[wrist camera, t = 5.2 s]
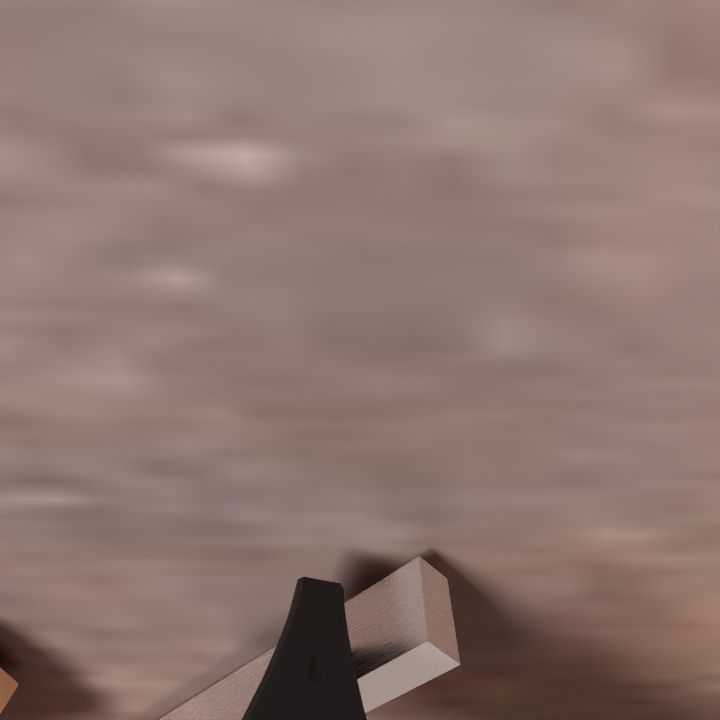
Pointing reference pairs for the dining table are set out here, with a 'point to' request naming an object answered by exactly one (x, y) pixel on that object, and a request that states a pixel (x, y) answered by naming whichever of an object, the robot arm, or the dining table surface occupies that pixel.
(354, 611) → the bar
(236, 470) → the dining table surface
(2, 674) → the light orange square block
